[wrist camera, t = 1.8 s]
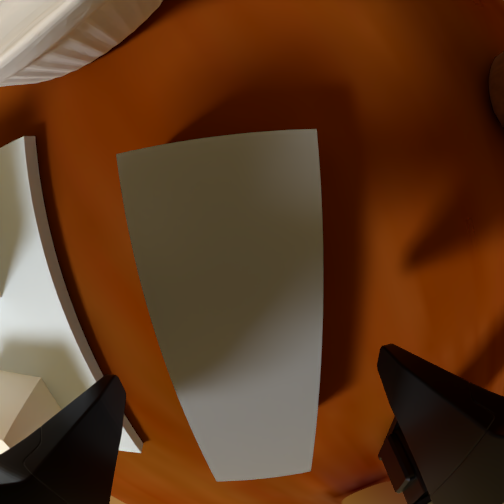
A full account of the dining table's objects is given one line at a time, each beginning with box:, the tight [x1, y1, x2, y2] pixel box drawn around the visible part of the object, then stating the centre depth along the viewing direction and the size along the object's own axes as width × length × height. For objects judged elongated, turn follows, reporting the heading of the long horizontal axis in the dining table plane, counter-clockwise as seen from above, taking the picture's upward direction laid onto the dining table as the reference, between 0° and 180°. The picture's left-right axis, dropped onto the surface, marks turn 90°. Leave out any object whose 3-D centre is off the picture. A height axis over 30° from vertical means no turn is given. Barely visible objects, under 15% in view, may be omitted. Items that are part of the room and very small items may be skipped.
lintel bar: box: [116, 129, 323, 481], centre depth 10 cm, size 4×14×4 cm, turn 5°
